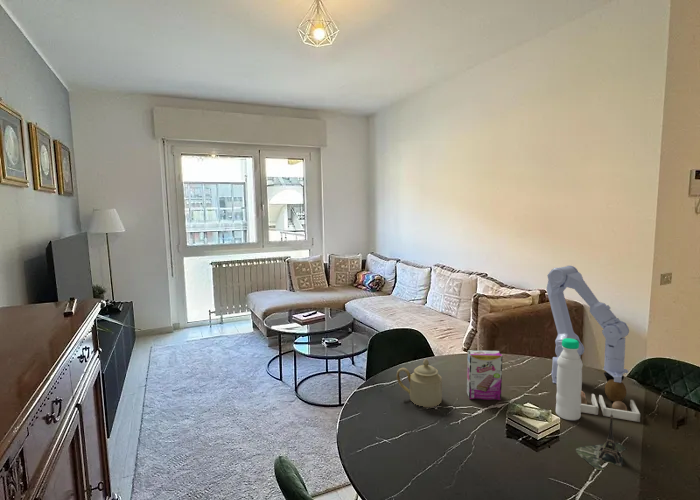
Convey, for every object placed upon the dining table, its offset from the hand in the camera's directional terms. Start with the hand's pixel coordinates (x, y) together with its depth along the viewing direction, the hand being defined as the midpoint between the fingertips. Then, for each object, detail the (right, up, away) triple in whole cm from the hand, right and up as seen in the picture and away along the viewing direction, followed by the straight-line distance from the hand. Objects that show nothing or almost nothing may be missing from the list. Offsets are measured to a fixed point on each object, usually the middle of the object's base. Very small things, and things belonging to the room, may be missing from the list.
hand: (612, 394), depth 139 cm
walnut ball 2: (-5, -2, -11) cm, 12 cm away
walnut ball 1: (-15, -2, -6) cm, 16 cm away
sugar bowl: (-67, -3, +1) cm, 67 cm away
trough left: (-15, -2, -5) cm, 15 cm away
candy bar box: (-44, -2, +2) cm, 44 cm away
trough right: (-5, -2, -9) cm, 11 cm away
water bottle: (-22, -3, -11) cm, 25 cm away
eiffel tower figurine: (-22, -6, -32) cm, 40 cm away
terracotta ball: (-13, -2, -2) cm, 13 cm away
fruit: (-1, -2, -3) cm, 4 cm away
